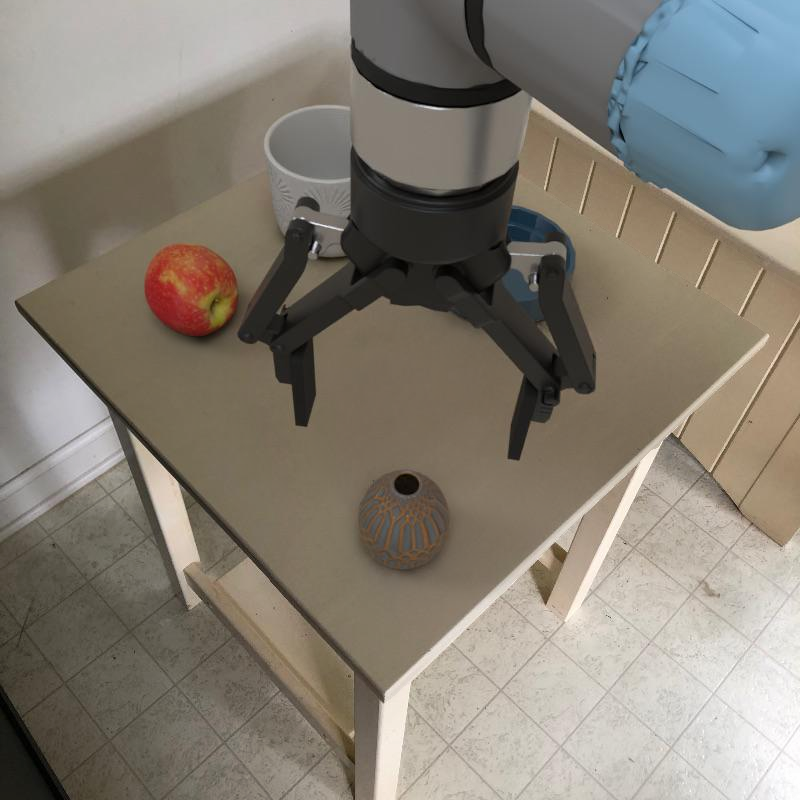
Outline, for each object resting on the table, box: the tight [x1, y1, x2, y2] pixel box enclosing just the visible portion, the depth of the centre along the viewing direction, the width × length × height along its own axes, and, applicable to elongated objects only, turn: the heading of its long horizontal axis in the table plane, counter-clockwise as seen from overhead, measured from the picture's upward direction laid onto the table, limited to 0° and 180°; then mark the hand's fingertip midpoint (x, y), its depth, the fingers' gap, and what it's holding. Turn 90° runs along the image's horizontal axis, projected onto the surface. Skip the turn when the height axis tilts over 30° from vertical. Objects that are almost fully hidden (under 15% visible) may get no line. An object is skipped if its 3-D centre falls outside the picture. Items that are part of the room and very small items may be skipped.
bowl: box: [450, 204, 577, 323], centre depth 82 cm, size 14×14×4 cm
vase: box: [357, 469, 451, 570], centre depth 62 cm, size 7×7×9 cm
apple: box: [143, 242, 239, 337], centre depth 76 cm, size 8×8×8 cm
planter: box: [263, 104, 352, 258], centre depth 83 cm, size 12×12×11 cm
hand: (409, 426), depth 53 cm, fingers open, 13 cm apart
